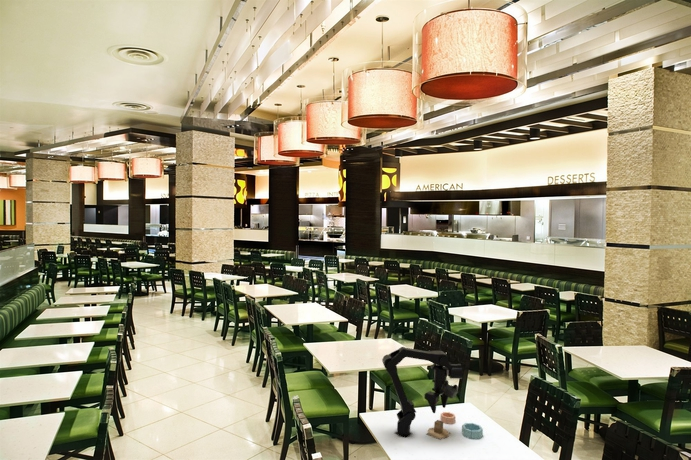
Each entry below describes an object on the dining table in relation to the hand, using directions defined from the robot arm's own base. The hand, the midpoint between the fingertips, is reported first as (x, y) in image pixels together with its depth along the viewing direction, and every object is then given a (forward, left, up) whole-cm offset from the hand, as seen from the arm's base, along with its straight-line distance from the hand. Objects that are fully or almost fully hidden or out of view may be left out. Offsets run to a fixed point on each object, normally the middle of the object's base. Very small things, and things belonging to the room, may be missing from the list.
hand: (439, 410), depth 222 cm
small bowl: (+16, +4, -12) cm, 20 cm away
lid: (0, 0, -11) cm, 11 cm away
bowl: (+11, -12, -12) cm, 20 cm away
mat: (0, 0, -12) cm, 12 cm away
